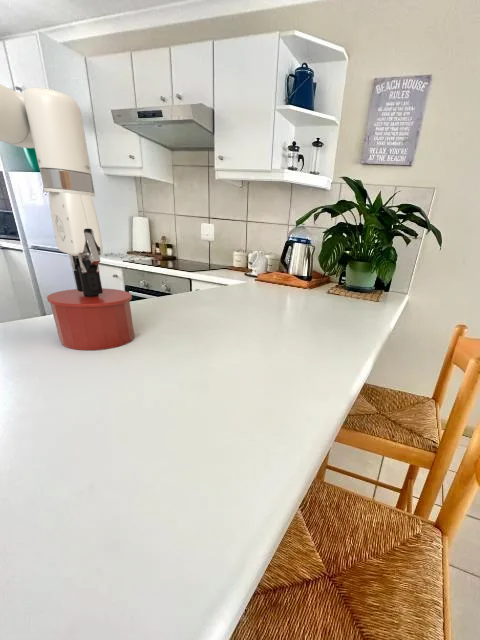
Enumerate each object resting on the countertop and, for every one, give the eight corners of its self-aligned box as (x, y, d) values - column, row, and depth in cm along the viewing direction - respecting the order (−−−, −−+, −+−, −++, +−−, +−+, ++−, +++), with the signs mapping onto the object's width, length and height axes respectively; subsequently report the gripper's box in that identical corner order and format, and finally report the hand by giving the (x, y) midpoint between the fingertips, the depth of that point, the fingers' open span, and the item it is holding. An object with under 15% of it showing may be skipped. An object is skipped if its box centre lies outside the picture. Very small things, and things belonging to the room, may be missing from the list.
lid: (38, 298, 64) (28, 262, 61) (114, 291, 74) (108, 260, 71) (64, 314, 56) (54, 274, 53) (145, 304, 66) (141, 270, 63)
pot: (51, 336, 68) (40, 295, 64) (117, 325, 77) (111, 289, 73) (75, 355, 60) (64, 310, 56) (146, 341, 69) (140, 301, 66)
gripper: (29, 182, 58) (54, 286, 66) (60, 181, 49) (85, 303, 57) (75, 187, 63) (94, 284, 71) (111, 187, 54) (128, 298, 62)
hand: (90, 291), depth 64 cm, fingers closed on lid, 2 cm apart
